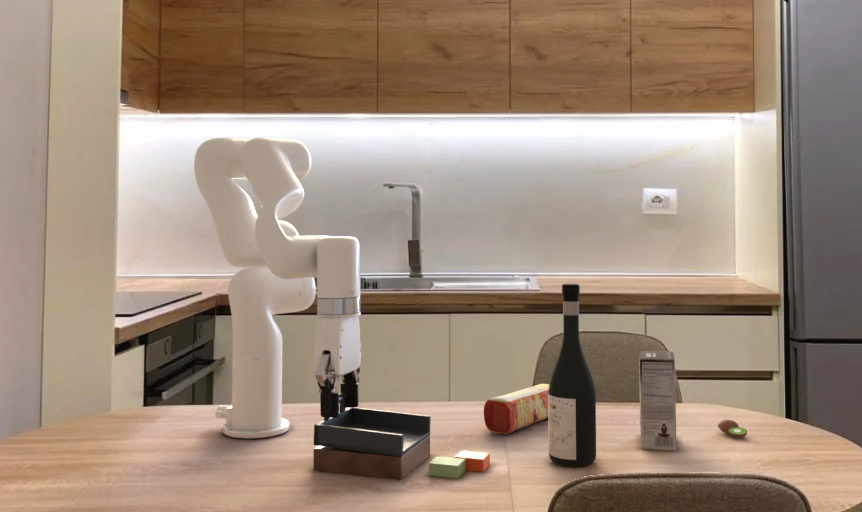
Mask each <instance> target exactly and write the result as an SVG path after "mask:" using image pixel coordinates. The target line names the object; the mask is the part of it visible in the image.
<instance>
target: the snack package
mask: <svg viewBox="0 0 862 512" xmlns="http://www.w3.org/2000/svg"><path fill="white" fill-rule="evenodd" d="M549 384H550V383H538V384H535V385H533V386H530V387H527V388H522V389H519V390H516V391H514V392H510V393H507V394H503V395H498V396H495V397H494V396H493V397H491V398H489V399H487V400H486V401H485V402H484V406H483V420H484V424H485V426H486V429H487V430H488V431H490V432H492V433H494V434H499V435H508V434H511V433H513V432H515V431H518V430H521V429H523V428H525V427H528V426H530V425H532V424H536V423H539V422H541V421H543V420H546V419H548V391H549Z"/></svg>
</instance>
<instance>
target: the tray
mask: <svg viewBox="0 0 862 512" xmlns="http://www.w3.org/2000/svg"><path fill="white" fill-rule="evenodd" d="M347 398H348V395H347V393H346V392H342V393H341V392H339V416H338V417H337V418H332V417H323V420H321V421H319V422H317V423H315V424H314V425H313V446H316V447H318V446H325V447H333V448H340V449H348V450H355V451H363V452H371V453H378V454H386V455H394V456H402V455H404V454H405V453H406V452H408V451H409V450H410V449H412V448H413V447H414V446H416V445H417V444H418V443H420V442H421V441H422V440H424V439H425V438H426V437H428V436H429V435H430V436H431V424H432V423H431V421H432V420H431V419H432V417H431V415H427V414H420V413H412V412H411V413H409V412H401V411H393V410H384V409H375V408H365V407H359V406H358V407H356V408H350V407H346V399H347Z"/></svg>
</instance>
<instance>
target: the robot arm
mask: <svg viewBox="0 0 862 512" xmlns="http://www.w3.org/2000/svg"><path fill="white" fill-rule="evenodd" d="M195 152H196V153H195V155H194V162H193V169H194V170H193V171H194V178H195V181H196V184H197V187H198V190H199V192H200V194H201V196H202V198H203V199H204V201H205V203H206V205H207V207H208V209H209V211H210V213H211V216H212V220H213V224H214V227H215V229H216V233H217V236H218V240H219V243H220V246H221V249H222V252H223V255H224V257H225V260H226V261H227V262H228V264H229V265H230V266H233V267H236V268H243V269H240V270H238V271H236V273H234V275H233V276H232V277H231V278H230V280H229V283H228V289H227V293H228V301H229V307H230V313H231V324H232V326H231V327H232V369H231V371H232V372H231V405H229V406H228V405H218V407H217V409H216V411H215V414H214V415H215V418H218V419H225V420H226V421H225V422H226V423H224V425H222V433H223V434H224V435H225V436H226V437H231V438H234V439H235V438H236V439H263V438H270V437H274V436H279V435H282V434H284V433H286V432H288V431H289V429H290V421H289V420H287V419H285V418H282V417H283V415H282V413H283V411H282V410H283V346H284V345H283V342H284V341H283V335H282V332H281V330H280V327H279V326H278V325H277V323H276V322H275V319H274V317H273V316H274V315H279V314H280V315H281V314H289V313H298V312H302V311H303V312H304V311H305V310H307V309H309V308H310V307H311V306H312V305H313V303H314V302H315V299H316V306H317V307H316V312H317V313H316V315H317V321H316V327H315V333H314V345H313V374H314V376H315V379H316V381H317V385H318V393H319V400H320V402H319V403H320V405H319V406H320V408H319V409H320V417H321V418H324V417H332V418H337V417H338V416H339V412H340V403H339V394H340V393H342V392H346V393H347V395H348V398H347V399H346V408H348V407H350V408H356V407H358V408H359V383H360V377H359V375H360V373H361V364H362V360H363V359H362V339H361V325H360V316H362V307H361V305H362V304H361V303H362V302H361V301H362V297H361V294H362V293H361V245H360V242H359V240H358V239H357V237H354V236H332V235H300V234H299V233H298V231H297V229H296V228H295V227H294V225H292V224H291V223H290V222H288V221H285V220H281V219H283V218H285V217H288V216H289V215H291V214H292V213H294V212H295V211H296V210H298V208H300V206H301V205H302V203H303V201H304V198H305V190H304V188H303V186H302V184H301V183H300V181H301V180H303V179H305V178H306V177H307V176H308V174H309V173H310V171H311V167H312V157H311V154H310V151H309V149H308V147H306V145H305V144H304V143H303V142H301V141H300V140H297V139H291V138H278V137H255V138H251V139H250V138H238V137H216V138H211V139H206V141H204V142H202V143H201V144H200V145H199V146H198V148H197V149H196V151H195ZM235 179H237V180H247V182H248V183H249V185H250V187H251V189H252V191H253V194H254V195H255V197H256V199H257V201H258V203H259V205H260V207H261V208H260V210H259V212H258V214H257V211H256V208H255V206H254V202H253V201H252V199H251V197H250V196H249V194H248V193H247V192H246V191H245V190H244V189H243V187H241V186H240V185H238V184H237V183H236V182H235V181H234V180H235ZM315 278H316V280H315ZM340 378H341V381H342V383H340V392H338V387H339V381H340ZM331 380H332V382H331Z"/></svg>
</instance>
